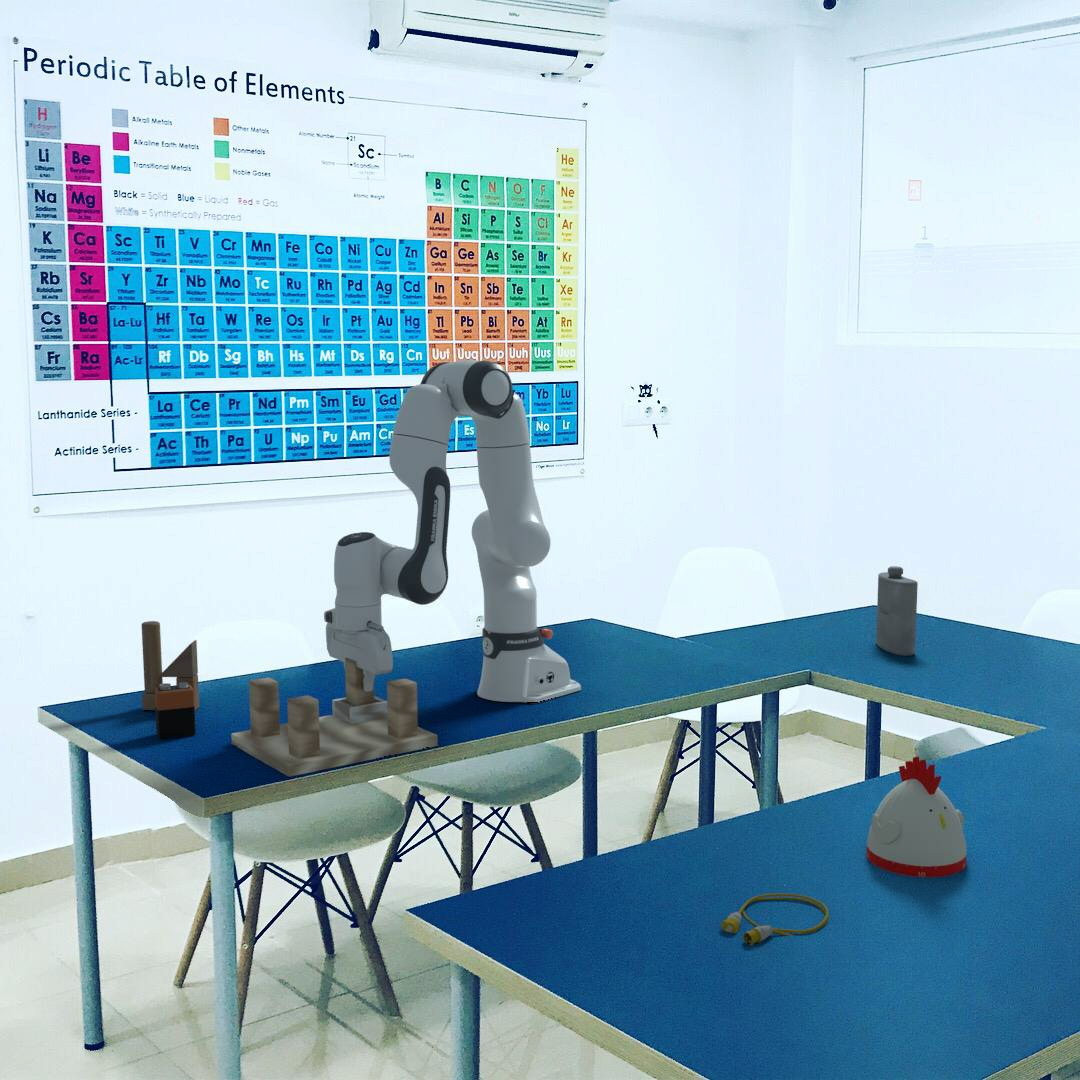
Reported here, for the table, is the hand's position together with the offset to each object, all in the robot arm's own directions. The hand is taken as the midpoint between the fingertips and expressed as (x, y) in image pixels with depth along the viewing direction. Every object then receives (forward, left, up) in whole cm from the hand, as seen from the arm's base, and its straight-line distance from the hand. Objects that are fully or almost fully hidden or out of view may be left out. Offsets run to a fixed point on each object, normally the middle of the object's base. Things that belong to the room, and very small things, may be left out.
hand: (360, 687), depth 262 cm
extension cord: (+1, +110, -8) cm, 111 cm away
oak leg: (0, 0, -4) cm, 4 cm away
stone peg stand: (+10, +8, -8) cm, 15 cm away
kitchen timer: (-31, +108, -8) cm, 113 cm away
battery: (+31, -16, -8) cm, 36 cm away
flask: (-135, +19, -8) cm, 136 cm away
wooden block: (+25, -34, -8) cm, 43 cm away
